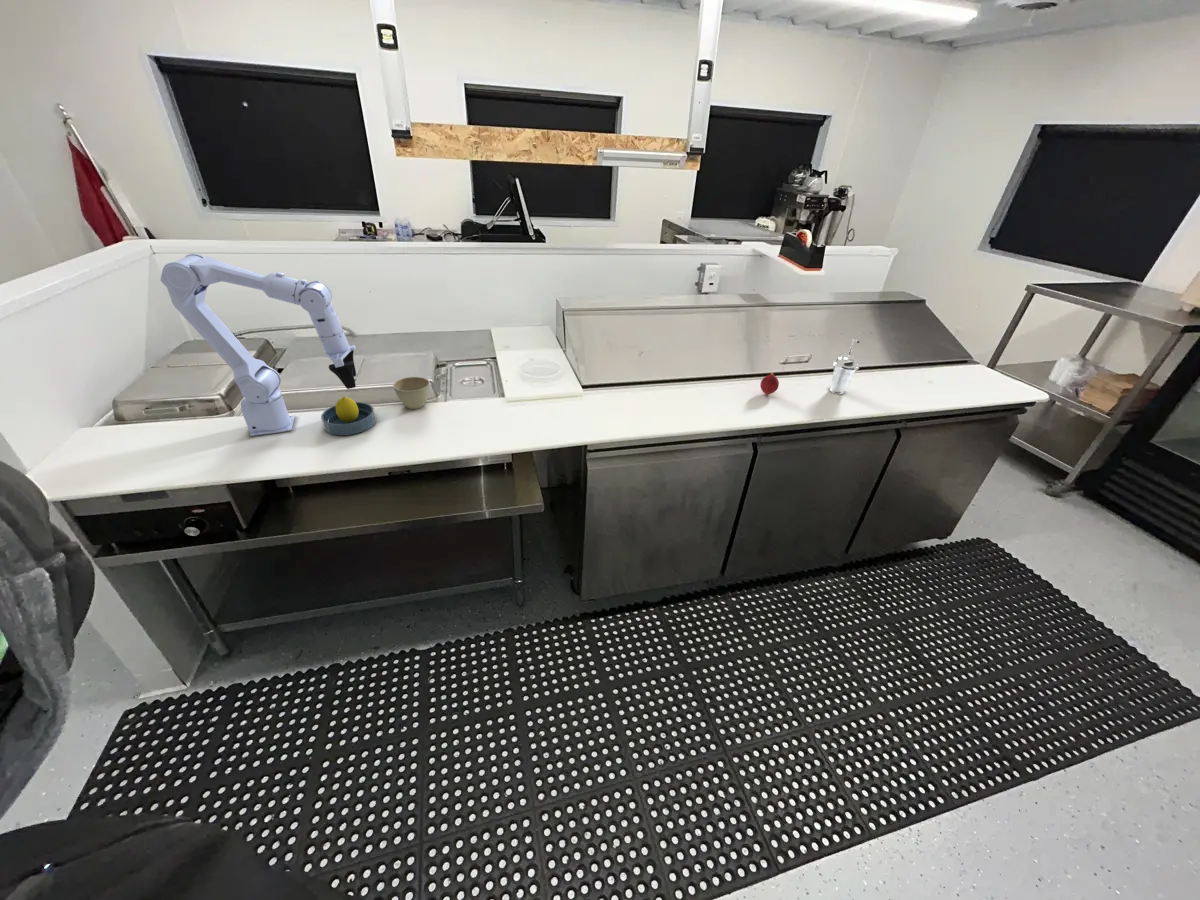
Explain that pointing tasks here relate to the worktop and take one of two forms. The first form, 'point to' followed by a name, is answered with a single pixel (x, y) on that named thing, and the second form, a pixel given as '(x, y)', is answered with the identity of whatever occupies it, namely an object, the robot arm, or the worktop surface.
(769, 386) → the onion
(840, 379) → the cup with straw
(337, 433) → the bowl
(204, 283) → the robot arm
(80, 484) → the worktop surface
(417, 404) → the flower pot
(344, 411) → the lemon
